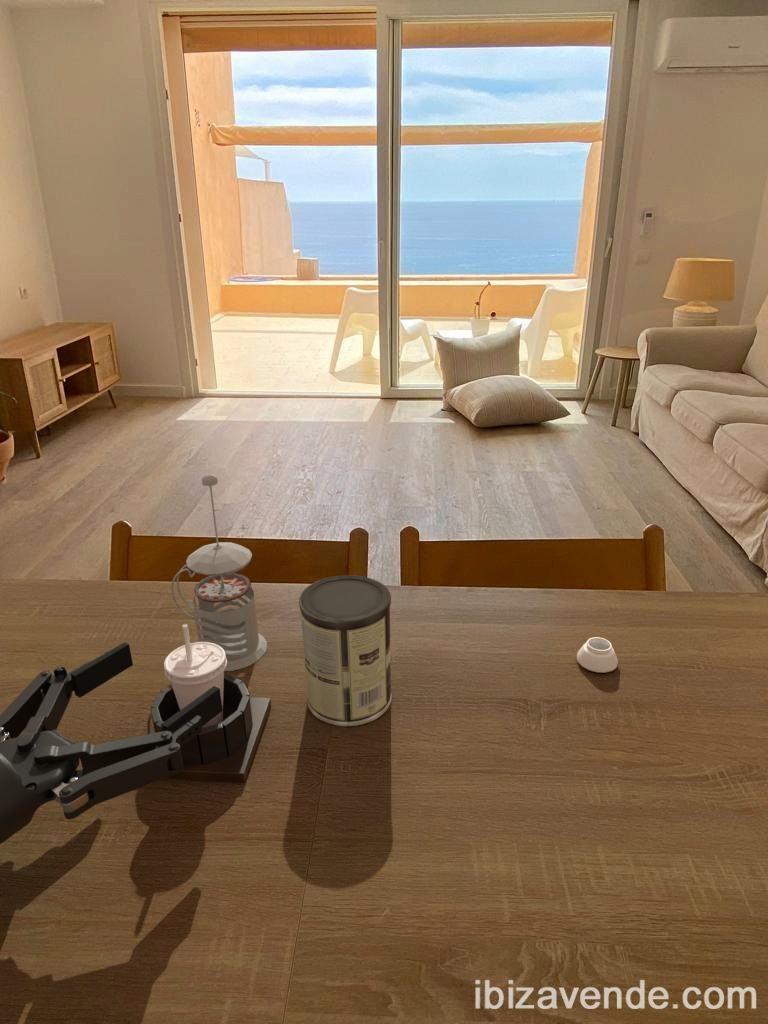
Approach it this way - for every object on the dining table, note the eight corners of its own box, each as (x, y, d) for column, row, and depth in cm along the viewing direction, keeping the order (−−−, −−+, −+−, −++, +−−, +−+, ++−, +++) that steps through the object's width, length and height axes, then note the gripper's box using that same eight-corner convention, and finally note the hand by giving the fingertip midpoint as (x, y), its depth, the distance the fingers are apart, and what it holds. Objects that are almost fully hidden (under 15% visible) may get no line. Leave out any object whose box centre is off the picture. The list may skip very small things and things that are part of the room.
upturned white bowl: (590, 646, 92) (568, 662, 89) (593, 628, 91) (571, 643, 88) (624, 663, 89) (602, 680, 86) (627, 644, 88) (605, 660, 85)
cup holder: (131, 776, 72) (123, 737, 70) (172, 701, 83) (166, 665, 81) (244, 782, 71) (240, 743, 69) (271, 705, 82) (267, 669, 80)
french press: (253, 674, 88) (233, 491, 77) (167, 667, 89) (136, 486, 79) (276, 631, 96) (261, 462, 86) (197, 625, 98) (173, 458, 88)
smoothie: (164, 731, 77) (145, 623, 71) (215, 703, 81) (201, 600, 75) (195, 761, 72) (177, 649, 67) (246, 730, 77) (234, 623, 71)
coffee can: (337, 662, 90) (333, 566, 84) (407, 688, 85) (407, 587, 79) (288, 708, 82) (279, 605, 76) (362, 739, 77) (359, 632, 71)
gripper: (-99, 784, 63) (102, 664, 79) (64, 927, 50) (264, 750, 66) (-125, 718, 60) (90, 608, 76) (43, 853, 47) (258, 687, 63)
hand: (171, 674), depth 71 cm, fingers open, 13 cm apart
